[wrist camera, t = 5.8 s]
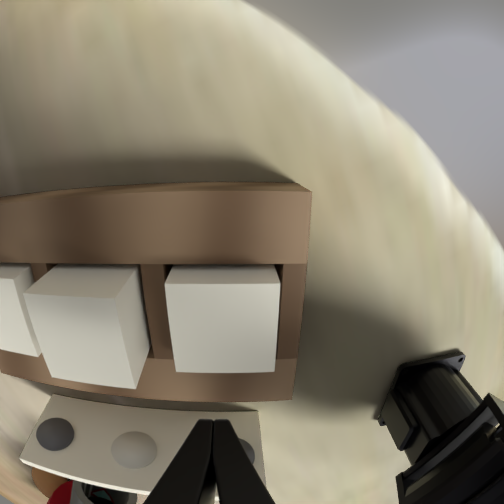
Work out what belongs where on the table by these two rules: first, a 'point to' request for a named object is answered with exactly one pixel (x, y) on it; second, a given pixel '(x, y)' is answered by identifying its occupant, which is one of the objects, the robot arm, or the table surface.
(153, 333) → the board
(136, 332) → the button mid
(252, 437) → the card
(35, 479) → the toy
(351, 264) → the table surface
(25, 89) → the table surface
